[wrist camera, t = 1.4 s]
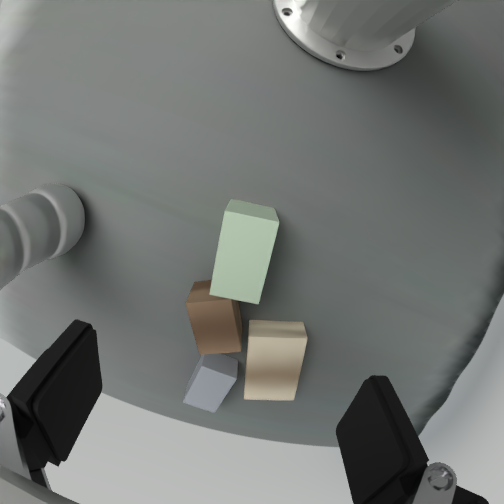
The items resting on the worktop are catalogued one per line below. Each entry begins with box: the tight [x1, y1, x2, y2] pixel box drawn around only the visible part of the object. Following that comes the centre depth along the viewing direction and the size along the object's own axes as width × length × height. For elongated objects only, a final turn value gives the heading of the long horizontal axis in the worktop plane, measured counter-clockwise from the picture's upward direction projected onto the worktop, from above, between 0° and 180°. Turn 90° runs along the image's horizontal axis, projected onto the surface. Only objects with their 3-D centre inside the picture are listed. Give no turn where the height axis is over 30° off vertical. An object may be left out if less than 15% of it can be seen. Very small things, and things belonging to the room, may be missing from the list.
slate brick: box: [183, 354, 238, 413], centre depth 28 cm, size 6×4×3 cm, turn 155°
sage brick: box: [209, 199, 279, 304], centre depth 22 cm, size 6×4×5 cm, turn 168°
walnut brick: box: [186, 280, 243, 355], centre depth 24 cm, size 5×4×4 cm
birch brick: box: [244, 320, 307, 400], centre depth 27 cm, size 8×5×3 cm, turn 176°
